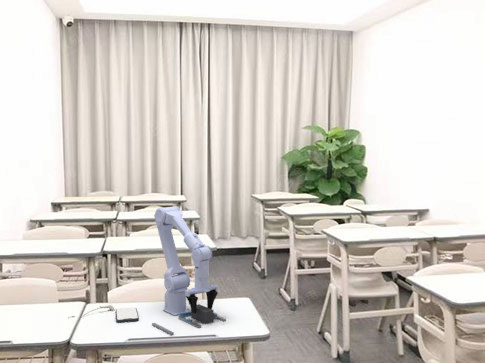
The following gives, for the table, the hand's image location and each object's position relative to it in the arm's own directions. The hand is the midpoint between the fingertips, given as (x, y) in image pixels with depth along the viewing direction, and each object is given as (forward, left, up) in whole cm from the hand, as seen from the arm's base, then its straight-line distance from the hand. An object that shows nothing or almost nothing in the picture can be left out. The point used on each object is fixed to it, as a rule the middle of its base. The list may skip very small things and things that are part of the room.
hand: (201, 310), depth 198 cm
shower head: (-35, -31, -4) cm, 47 cm away
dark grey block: (0, 0, -4) cm, 4 cm away
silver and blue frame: (0, -6, -4) cm, 7 cm away
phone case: (-23, -21, -4) cm, 32 cm away
